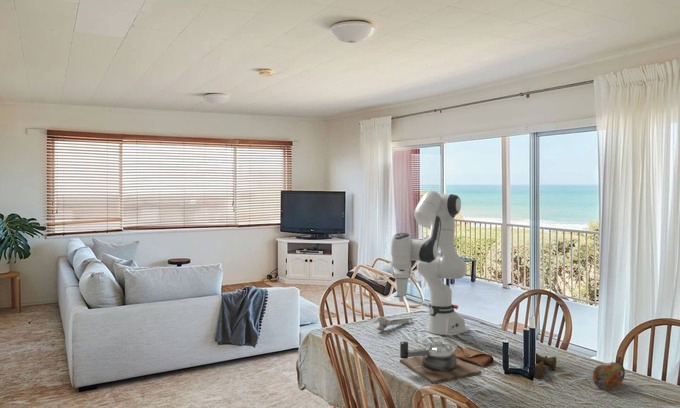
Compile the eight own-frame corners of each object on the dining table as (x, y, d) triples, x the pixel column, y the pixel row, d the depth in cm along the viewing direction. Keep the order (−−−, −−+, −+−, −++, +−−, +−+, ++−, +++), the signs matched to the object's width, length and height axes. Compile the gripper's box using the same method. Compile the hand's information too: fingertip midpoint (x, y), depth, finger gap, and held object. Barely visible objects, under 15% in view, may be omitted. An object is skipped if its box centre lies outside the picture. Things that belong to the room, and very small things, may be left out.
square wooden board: (445, 353, 215) (445, 342, 215) (481, 373, 194) (481, 361, 193) (399, 361, 205) (399, 350, 205) (432, 383, 184) (432, 370, 183)
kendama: (523, 376, 192) (534, 360, 208) (549, 383, 186) (558, 365, 203) (524, 362, 191) (535, 346, 208) (550, 368, 186) (559, 351, 202)
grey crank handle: (444, 349, 206) (445, 334, 206) (457, 358, 195) (457, 342, 195) (395, 354, 200) (395, 338, 200) (405, 364, 189) (406, 347, 189)
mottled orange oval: (598, 390, 178) (598, 368, 177) (590, 387, 181) (591, 365, 180) (625, 383, 184) (626, 362, 183) (617, 380, 187) (618, 359, 186)
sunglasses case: (447, 357, 211) (451, 342, 213) (453, 361, 216) (458, 346, 218) (484, 368, 199) (488, 352, 201) (491, 372, 203) (495, 357, 205)
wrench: (411, 327, 263) (375, 333, 243) (409, 326, 265) (372, 332, 244) (413, 313, 264) (376, 317, 243) (410, 312, 265) (374, 316, 245)
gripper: (393, 265, 220) (393, 294, 221) (394, 275, 200) (394, 307, 201) (407, 265, 220) (407, 294, 221) (409, 275, 200) (409, 307, 201)
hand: (401, 300), depth 211 cm, fingers closed
